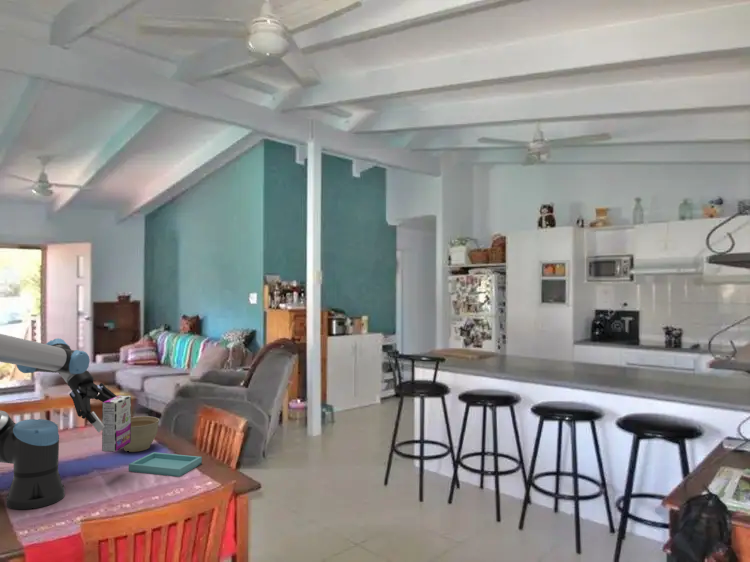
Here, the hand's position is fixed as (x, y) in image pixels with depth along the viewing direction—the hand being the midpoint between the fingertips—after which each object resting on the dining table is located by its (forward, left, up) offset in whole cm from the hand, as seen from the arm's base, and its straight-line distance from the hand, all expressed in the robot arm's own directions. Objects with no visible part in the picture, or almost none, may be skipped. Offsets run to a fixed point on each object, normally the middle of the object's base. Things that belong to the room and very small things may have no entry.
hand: (114, 425), depth 191 cm
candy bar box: (0, -1, -8) cm, 8 cm away
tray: (+13, -11, -18) cm, 24 cm away
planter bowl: (+29, +13, -18) cm, 37 cm away
